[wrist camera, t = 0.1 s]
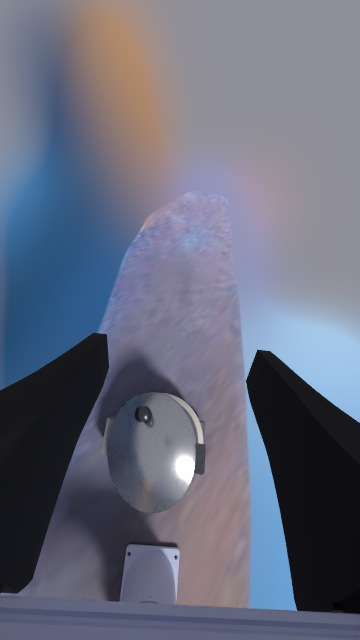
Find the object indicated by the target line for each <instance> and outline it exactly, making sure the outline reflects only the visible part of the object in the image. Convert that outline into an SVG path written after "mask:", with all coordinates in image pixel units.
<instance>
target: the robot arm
mask: <svg viewBox="0 0 360 640" xmlns="http://www.w3.org/2000/svg"><path fill="white" fill-rule="evenodd" d="M108 369H109V360H108V345H107V334H99V333H93V334H91V335H90V336H88V337H87V338H86V339H84V340H83V341H81V342H80V343H79V344H77V345H76V346H74V347H73V348H71V349H70V350H69V351H67V352H66V353H64V354H63V355H61V356H60V357H58V358H57V359H55V360H53V361H52V362H50V363H49V364H47V365H45V366H44V367H42V368H41V369H39V370H37V371H36V372H34V373H32V374H31V375H29V376H27V377H25V378H23V379H22V380H20V381H18V382H16V383H14V384H12V385H10V386H8V387H6V388H4V389H2V390H0V593H18V592H20V591H21V590H22V589H23V588H24V587H26V586H27V585H28V584H29V582H30V581H31V580H32V579H33V575H34V572H35V569H36V565H37V562H38V559H39V555H40V552H41V549H42V545H43V542H44V539H45V535H46V532H47V529H48V526H49V523H50V520H51V516H52V513H53V510H54V507H55V504H56V501H57V498H58V495H59V492H60V489H61V486H62V483H63V480H64V477H65V474H66V472H67V469H68V466H69V463H70V460H71V458H72V455H73V452H74V449H75V447H76V444H77V441H78V439H79V437H80V434H81V432H82V430H83V428H84V426H85V423H86V421H87V419H88V417H89V415H90V413H91V411H92V409H93V407H94V404H95V402H96V400H97V398H98V396H99V394H100V392H101V389H102V387H103V384H104V381H105V379H106V375H107V372H108ZM246 383H247V389H248V394H249V399H250V402H251V406H252V409H253V412H254V415H255V418H256V421H257V424H258V427H259V430H260V433H261V436H262V439H263V442H264V445H265V447H266V451H267V455H268V458H269V462H270V467H271V471H272V475H273V479H274V484H275V489H276V493H277V498H278V503H279V508H280V513H281V518H282V524H283V529H284V535H285V540H286V546H287V553H288V559H289V565H290V572H291V579H292V586H293V593H294V600H295V604H296V607H297V611H288V610H268V609H249V608H230V607H211V606H191V605H176V597H177V583H178V568H179V554H180V552H179V548H177V547H166V546H151V545H137V544H129V545H128V546H127V549H126V556H125V563H124V571H123V579H122V586H121V594H120V601H119V602H114V601H95V600H75V599H56V598H36V597H17V596H0V640H360V423H359V422H357V421H356V420H354V419H353V418H352V417H350V416H349V415H347V414H346V413H344V412H343V411H342V410H340V409H339V408H338V407H336V406H335V405H334V404H332V403H331V402H330V401H328V400H327V399H326V398H325V397H323V396H322V395H321V394H320V393H318V392H317V391H316V390H315V389H313V388H312V387H311V386H310V385H309V384H307V383H306V382H305V381H304V380H303V379H302V378H300V377H299V376H298V375H297V374H296V373H295V372H293V371H292V370H291V369H290V368H289V367H288V366H287V365H286V364H285V363H283V362H282V361H281V360H280V359H279V358H278V357H276V356H275V355H274V354H273V353H271V352H270V351H263V350H257V353H256V355H255V358H254V361H253V363H252V366H251V369H250V372H249V374H248V377H247V380H246ZM128 552H130V553H131V554H130V555H129V554H128ZM175 555H177V558H175V557H174V556H175Z"/></svg>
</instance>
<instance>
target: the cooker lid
mask: <svg viewBox="0 0 360 640" xmlns="http://www.w3.org/2000/svg"><path fill="white" fill-rule="evenodd" d="M205 446H206V445H205V444H200V443H197V437H196V432H195V429H194V426H193V423H192V421H191V419H190V417H189V415H188V414H187V412H186V411H185V409H184V408H183V407H182V406H181V405H180V404H179V403H178V402H177V401H176V400H174V399H173V398H172V397H170V396H168V395H165V394H162V393H157V392H147V393H142V394H139V395H137V396H134V397H133V398H131V399H130V400H129V401H127V402H126V403H125V404H124V405H123V406H122V408H121V409H120V410H119V412H118V413H117V415H116V417H115V419H114V421H113V423H112V426H111V429H110V433H109V437H108V445H107V459H108V467H109V471H110V475H111V478H112V481H113V483H114V485H115V487H116V489H117V491H118V492H119V494H120V495H121V497H122V498H123V499H124V500H125V501H126V502H127V503H128V504H129V505H130V506H132V507H133V508H135V509H137V510H139V511H142V512H145V513H159V512H162V511H165V510H167V509H169V508H171V507H172V506H173V505H175V504H176V503H177V502H178V501H180V499H181V498H182V497H183V496H184V495H185V494H186V492H187V491H188V489H189V487H190V485H191V483H192V481H193V479H194V476H195V473H197V474H201V475H202V474H204V468H205Z"/></svg>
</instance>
